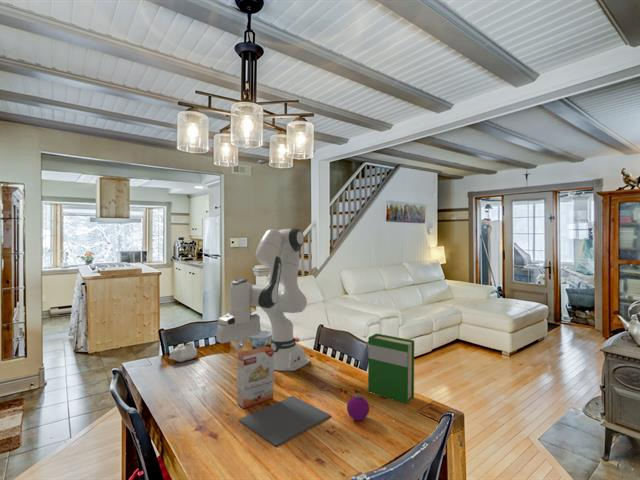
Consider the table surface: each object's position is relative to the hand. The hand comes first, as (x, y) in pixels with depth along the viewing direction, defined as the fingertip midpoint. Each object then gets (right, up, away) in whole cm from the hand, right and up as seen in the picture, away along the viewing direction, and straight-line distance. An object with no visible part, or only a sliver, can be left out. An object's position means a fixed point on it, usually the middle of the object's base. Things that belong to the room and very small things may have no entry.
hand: (239, 348), depth 149 cm
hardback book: (+65, -19, -2) cm, 68 cm away
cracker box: (+9, -19, -8) cm, 22 cm away
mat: (+22, -19, -21) cm, 36 cm away
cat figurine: (-39, -18, +37) cm, 57 cm away
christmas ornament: (+49, -20, -21) cm, 57 cm away
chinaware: (-2, -18, +61) cm, 64 cm away
